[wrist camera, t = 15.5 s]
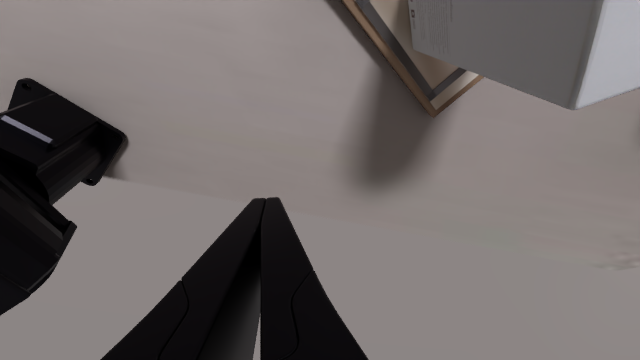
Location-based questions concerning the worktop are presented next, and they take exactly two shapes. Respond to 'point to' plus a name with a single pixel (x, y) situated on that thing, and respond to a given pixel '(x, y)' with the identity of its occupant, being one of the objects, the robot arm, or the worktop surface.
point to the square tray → (410, 54)
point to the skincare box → (537, 44)
